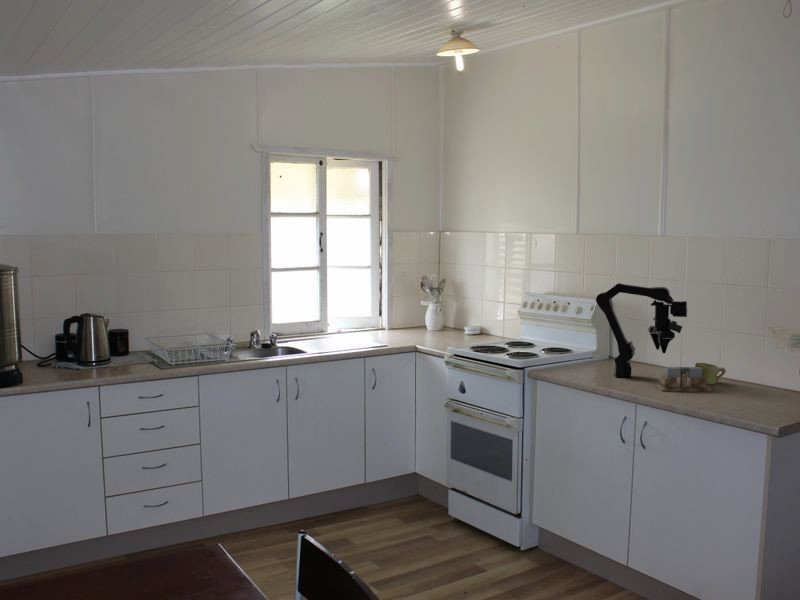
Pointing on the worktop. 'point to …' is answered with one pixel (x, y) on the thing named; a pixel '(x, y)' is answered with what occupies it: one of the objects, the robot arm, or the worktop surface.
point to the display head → (683, 384)
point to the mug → (711, 372)
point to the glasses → (675, 371)
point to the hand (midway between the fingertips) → (660, 351)
